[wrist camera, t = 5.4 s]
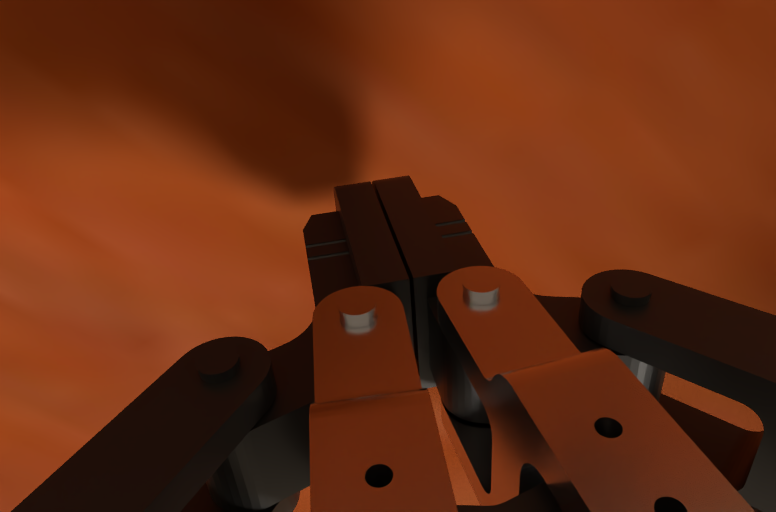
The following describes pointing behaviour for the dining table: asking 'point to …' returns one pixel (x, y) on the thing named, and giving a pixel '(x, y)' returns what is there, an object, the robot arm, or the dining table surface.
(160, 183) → the dining table surface
